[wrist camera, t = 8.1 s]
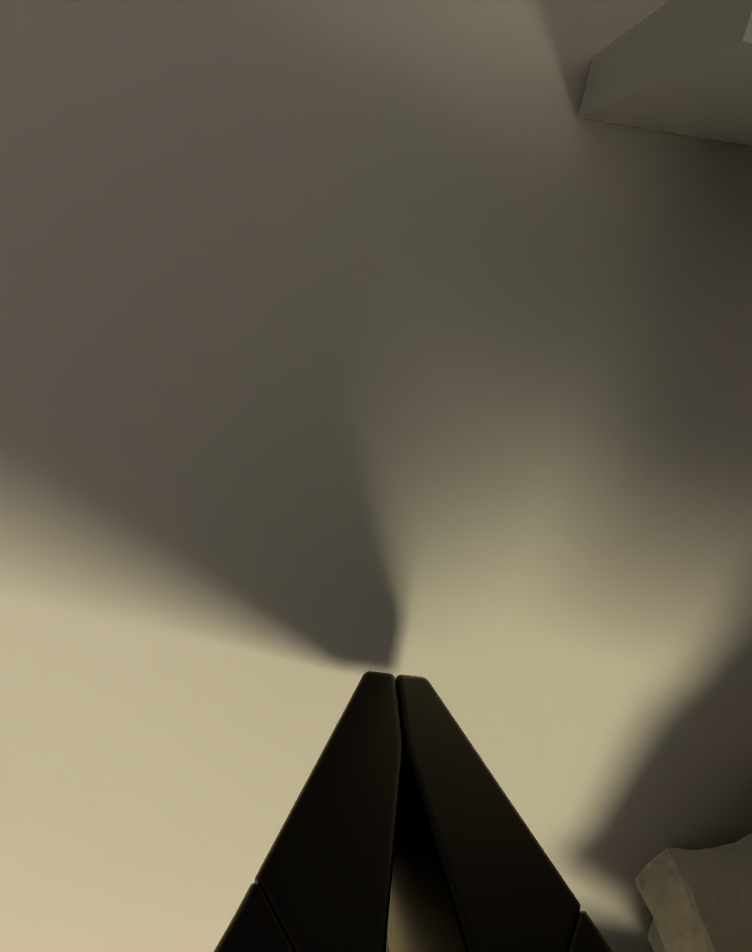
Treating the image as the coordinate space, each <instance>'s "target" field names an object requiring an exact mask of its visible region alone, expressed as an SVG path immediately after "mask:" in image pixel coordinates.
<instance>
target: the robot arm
mask: <svg viewBox="0 0 752 952" xmlns="http://www.w3.org/2000/svg"><path fill="white" fill-rule="evenodd" d="M579 911H580V903H579V902H578V900H577V899H576V897H575V896H574V894H573V893H572V891H571V890H570V889H569V887H568V886H567V884H566V883H565V881H564V880H563V878H562V877H561V875H560V874H559V872H558V871H557V869H556V868H555V866H554V865H553V863H552V862H551V861H550V859H549V858H548V856H547V855H546V853H545V852H544V850H543V849H542V847H541V846H540V844H539V843H538V841H537V840H536V838H535V837H534V836H533V834H532V833H531V831H530V830H529V828H528V827H527V825H526V824H525V822H524V821H523V819H522V818H521V816H520V815H519V813H518V812H517V810H516V809H515V808H514V806H513V805H512V803H511V802H510V800H509V799H508V797H507V796H506V794H505V793H504V791H503V790H502V788H501V787H500V785H499V784H498V782H497V781H496V780H495V778H494V777H493V775H492V774H491V772H490V771H489V769H488V768H487V766H486V765H485V763H484V762H483V760H482V759H481V757H480V756H479V755H478V753H477V752H476V750H475V749H474V747H473V746H472V744H471V743H470V741H469V740H468V738H467V737H466V735H465V734H464V732H463V731H462V729H461V728H460V727H459V725H458V724H457V722H456V721H455V719H454V718H453V716H452V715H451V713H450V712H449V710H448V709H447V707H446V706H445V704H444V703H443V702H442V700H441V699H440V697H439V696H438V694H437V693H436V691H435V690H434V688H433V687H432V685H431V684H430V682H429V681H428V680H427V679H426V678H424V677H418V676H409V675H399V676H397V677H396V679H395V677H394V675H392V674H390V673H381V672H372V671H368V672H366V673H365V674H364V675H363V676H362V678H361V680H360V682H359V684H358V686H357V688H356V690H355V691H354V693H353V695H352V697H351V699H350V701H349V703H348V705H347V706H346V708H345V710H344V712H343V714H342V716H341V718H340V720H339V721H338V723H337V725H336V727H335V729H334V731H333V733H332V735H331V736H330V738H329V740H328V742H327V744H326V746H325V748H324V750H323V751H322V753H321V755H320V757H319V759H318V761H317V763H316V765H315V766H314V768H313V770H312V772H311V774H310V776H309V778H308V780H307V781H306V783H305V785H304V787H303V789H302V791H301V793H300V795H299V796H298V798H297V800H296V802H295V804H294V806H293V808H292V810H291V811H290V813H289V815H288V817H287V819H286V821H285V823H284V825H283V826H282V828H281V830H280V832H279V834H278V836H277V838H276V840H275V841H274V843H273V845H272V847H271V849H270V851H269V853H268V855H267V856H266V858H265V860H264V862H263V864H262V866H261V868H260V870H259V871H258V873H257V875H256V877H255V883H253V884H251V886H250V887H249V889H248V891H247V893H246V895H245V897H244V899H243V901H242V902H241V904H240V906H239V908H238V910H237V912H236V914H235V915H234V917H233V919H232V921H231V923H230V924H229V926H228V928H227V929H226V931H225V933H224V935H223V936H222V938H221V940H220V942H219V943H218V945H217V947H216V949H215V950H214V952H385V951H386V940H387V936H388V949H389V952H613V951H612V950H611V948H610V947H609V946H608V944H607V943H606V941H605V940H604V938H603V937H602V935H601V934H600V932H599V931H598V929H597V928H596V926H595V925H594V923H593V922H592V920H591V919H590V918H589V916H588V915H587V913H586V912H585V911H580V912H579Z"/></svg>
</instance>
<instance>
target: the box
mask: <svg viewBox="0 0 752 952" xmlns="http://www.w3.org/2000/svg"><path fill="white" fill-rule="evenodd" d="M578 118H585V119H591V120H597V121H603V122H609V123H615V124H621V125H627V126H633V127H639V128H645V129H652V130H658V131H664V132H670V133H676V134H682V135H688V136H694V137H700V138H706V139H712V140H718V141H725V142H731V143H737V144H743V145H749V146H752V0H671V1H669V2H668V3H667V4H665V5H664V6H663V7H661V8H660V9H658V10H657V11H656V12H654V13H653V14H651V15H650V16H649V17H647V18H646V19H644V20H643V21H642V22H640V23H639V24H638V25H636V26H635V27H633V28H632V29H631V30H629V31H628V32H626V33H625V34H624V35H622V36H621V37H619V38H618V39H617V40H615V41H614V42H613V43H611V44H610V45H608V46H607V47H606V48H604V49H603V50H601V51H600V52H599V53H597V54H596V55H594V56H593V57H592V60H591V64H590V68H589V73H588V77H587V81H586V85H585V89H584V93H583V98H582V102H581V106H580V110H579V114H578Z"/></svg>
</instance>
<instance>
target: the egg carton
mask: <svg viewBox="0 0 752 952" xmlns="http://www.w3.org/2000/svg"><path fill="white" fill-rule="evenodd" d="M634 883H635V885H636V888H637V889H638V891H639V893H640V895H641V896H642V898H643V900H644V902H645V904H646V905H647V907H648V909H649V911H650V912H651V914H652V916H653V918H654V919H653V921H652V923H651V926H650V928H649V930H648V933H647V938H648V940H649V942H650V945H651V947H652V949H653V951H654V952H752V833H750V834H748V835H747V836H745V837H743V838H742V839H740V840H738V841H736V842H734V843H731V844H727V845H722V846H718V847H714V848H706V849H697V850H692V849H680V848H673V847H667V848H666V849H664V850H663V851H662V852H661V853H660V854H658V855H657V856H655V857H654V858H653V859H651V860H650V861H649V862H648V863H647V864H646V865H645V866H644V867H643V869H642V870H641V872H640V873H639V874H638V876H637V878H636V880H635V882H634Z"/></svg>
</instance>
